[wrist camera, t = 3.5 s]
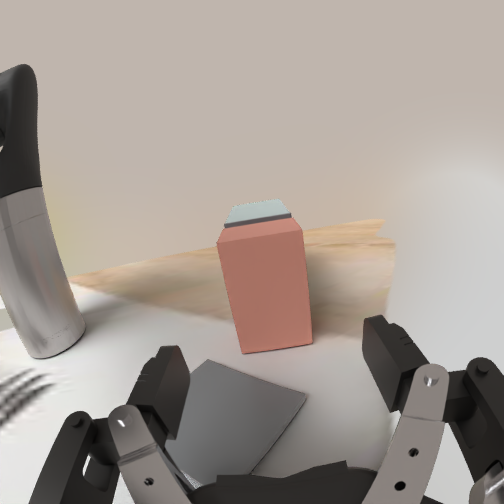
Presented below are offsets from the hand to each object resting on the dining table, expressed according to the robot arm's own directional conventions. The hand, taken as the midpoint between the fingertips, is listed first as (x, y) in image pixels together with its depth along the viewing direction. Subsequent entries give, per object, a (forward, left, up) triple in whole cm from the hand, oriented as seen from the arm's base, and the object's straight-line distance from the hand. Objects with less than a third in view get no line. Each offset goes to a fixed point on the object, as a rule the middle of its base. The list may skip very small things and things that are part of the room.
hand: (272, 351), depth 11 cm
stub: (-6, +8, -6) cm, 11 cm away
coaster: (-4, -2, -6) cm, 7 cm away
